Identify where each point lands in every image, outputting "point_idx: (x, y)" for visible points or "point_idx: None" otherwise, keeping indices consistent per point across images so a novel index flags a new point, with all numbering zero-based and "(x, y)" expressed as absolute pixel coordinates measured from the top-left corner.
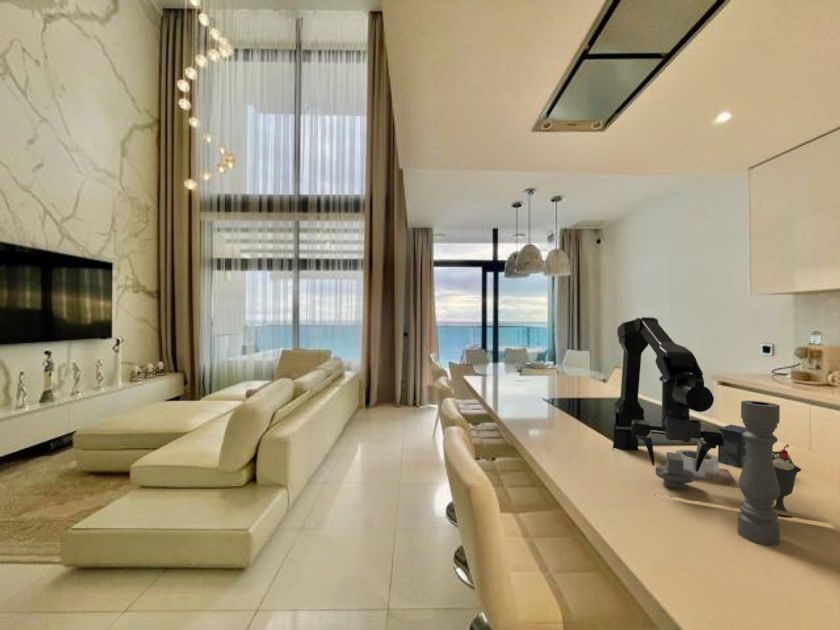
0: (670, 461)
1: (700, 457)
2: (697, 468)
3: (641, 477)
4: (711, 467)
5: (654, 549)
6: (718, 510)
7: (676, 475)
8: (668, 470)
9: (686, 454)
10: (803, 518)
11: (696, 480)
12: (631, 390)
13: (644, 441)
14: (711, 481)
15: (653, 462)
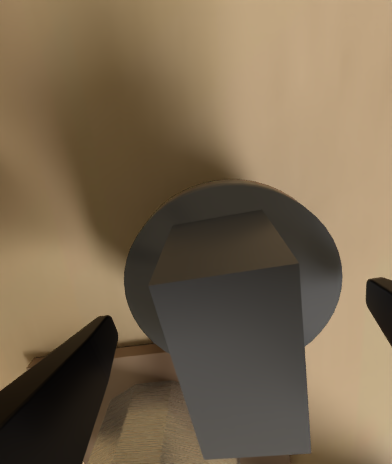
0: (272, 254)
1: (4, 405)
2: (91, 328)
3: (358, 300)
4: (99, 446)
5: None
6: (24, 91)
7: (211, 217)
8: (267, 220)
9: None
10: None
11: (156, 359)
12: None
13: None
14: (112, 376)
15: (388, 285)
